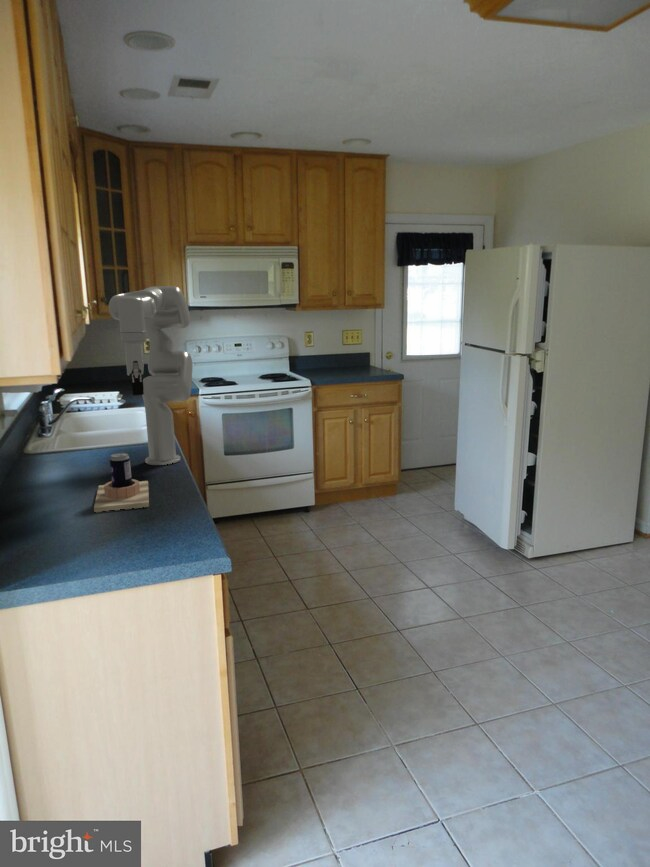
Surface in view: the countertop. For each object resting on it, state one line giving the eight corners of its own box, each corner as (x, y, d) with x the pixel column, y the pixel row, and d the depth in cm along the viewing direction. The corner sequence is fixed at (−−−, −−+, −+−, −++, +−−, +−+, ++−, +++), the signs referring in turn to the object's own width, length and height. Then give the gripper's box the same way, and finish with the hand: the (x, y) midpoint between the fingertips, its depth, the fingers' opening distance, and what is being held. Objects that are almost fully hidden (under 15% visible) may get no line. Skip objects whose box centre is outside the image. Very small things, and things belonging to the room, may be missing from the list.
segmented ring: (106, 490, 195) (105, 480, 194) (139, 486, 197) (139, 477, 196) (104, 500, 185) (103, 490, 184) (139, 496, 188) (138, 486, 187)
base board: (99, 489, 200) (98, 485, 200) (148, 485, 204) (147, 480, 203) (94, 512, 179) (93, 507, 179) (149, 506, 183) (148, 501, 183)
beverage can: (125, 489, 195) (122, 451, 193) (136, 492, 192) (133, 454, 189) (109, 493, 191) (105, 455, 188) (120, 497, 187) (116, 458, 185)
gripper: (121, 336, 203) (126, 388, 207) (119, 340, 187) (125, 397, 191) (146, 335, 205) (150, 387, 209) (146, 339, 188) (151, 396, 193)
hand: (138, 392), depth 200 cm, fingers open, 9 cm apart
